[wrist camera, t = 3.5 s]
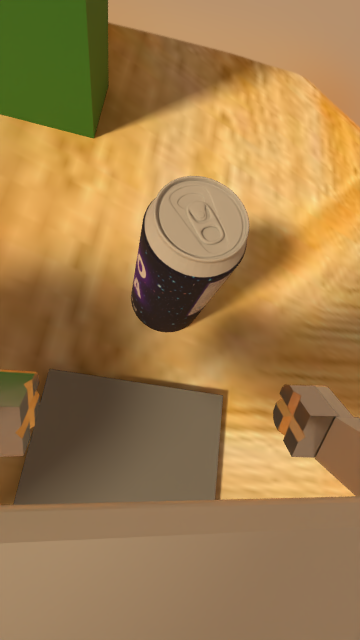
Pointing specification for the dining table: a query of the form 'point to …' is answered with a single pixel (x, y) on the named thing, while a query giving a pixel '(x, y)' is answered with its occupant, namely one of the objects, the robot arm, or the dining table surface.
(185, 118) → the dining table surface
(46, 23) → the hardback book
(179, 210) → the beverage can
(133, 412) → the mat
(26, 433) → the robot arm
